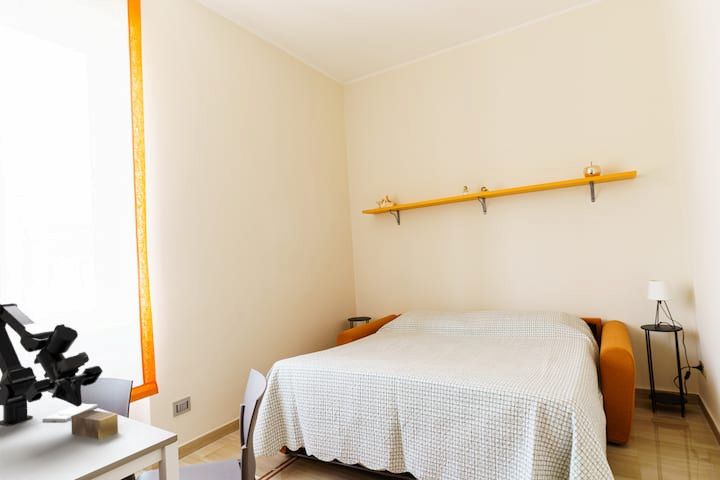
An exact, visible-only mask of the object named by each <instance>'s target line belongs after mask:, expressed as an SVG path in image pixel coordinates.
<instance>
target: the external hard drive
mask: <svg viewBox="0 0 720 480" xmlns="http://www.w3.org/2000/svg"><path fill="white" fill-rule="evenodd" d="M98 407H99V405H98V404H96V403H94V404H93V403H92V404H90V403H82V404H81V406H78V407H77V406H75V405H72V406H70V407H68V408H65V409H63V410H60V411H58V412H56V413H54V414H52V415H49V416H45V417H44V418H42V423H47V422H49V423H51V422H55V423H66V422H68V421H71V416H73V415H76V414H79V413H82V412H85V411H87V410H95V409H98Z"/></svg>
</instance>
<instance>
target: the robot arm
mask: <svg viewBox="0 0 720 480" xmlns="http://www.w3.org/2000/svg"><path fill="white" fill-rule="evenodd" d="M7 325H8V326H9V327H10V328H11V329H12V330H13V331H14V332H15V333H16V334H17V335H18V336H19V337H20V340H19V344H20V345H21V346H22V347H23V350H24V351H26V352H28V353H33V352H37V351H38V353H37V354H36V356H35V358H34V360H33V364H34V365H37V364H40V366H41V367H42V369H43V371H44V374H43V376H44V379H40V380H37V376H36V374H35V373H34V370H33V368H32V367H31V366H29V367H27V366H26V367H25V366H23V365H22V363H21V360H20V359H19V357H18V353H17V351H16V349H15V347H14V345H13V343H12V340H11V338H10V336H9V334H8V331H7V328H6V326H7ZM78 335H79V334H78V331H77V330H76V329H73V328H72V327H70V326H66V325H65V324H63V323H62V324H57V325H55V328H54V330H52V329H50V328H48V326H43V325H39V324H37V323H35V322H34V321H33V320H32V319H31V318H30V317H29V316H28V315H27V314H26V313H24V312H23V311H22V310H21V309H20V308H19V307H18V304H17V303H16V302H12V301H11V302H1V303H0V371H1V377H0V406H2V408H3V409H2V410H3V411H2V412H3V414H2V415H3V416H2V418H3V419H2V420H0V425H6V426H12V425H16V424H19V423H21V422H24V421H28V420H30V419H33V418H34V416H33V415H29V414H28V403H33V402H36V401H39V400H41V399H42V396H43V393H45V392H49V391H52V394H51V398H52V399H56V398H57V399H59V400H62V401H65V402H67V403H69V404H71V405H72V406H74V405H75V406H77V407H78V406H81V404H83V401H82V391H81V390H82V389H81V388H82V386H83V387H86V386H90V385H93V384H94V383H96V382H97V380H98V379H99V378H100V376H101V375H102V373H103V372H104V371H103V369H102V368H101V367H100V366H99V365H94V366H90V367H87V368H84V370H83V372H82V373H80V374H78V372H79V371H80V369H79V368H81V367H83V366H85V365H86V363H88V362H89V361H90V358H89V355H88V354H87V353H86V351H83V352H79V353H78V354H76V355H72V356H69V357H65V356H64V354H65V353H67V352H68V351H69V349H70V348H71V347H72V346H73V343H74V342H75V341H76V339H77V338H78ZM76 374H77V375H76Z"/></svg>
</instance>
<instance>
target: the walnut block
mask: <svg viewBox="0 0 720 480" xmlns="http://www.w3.org/2000/svg"><path fill="white" fill-rule="evenodd" d="M118 419H119V418H118V413H114V412H113V413H112V412H108V411H107V412H106V411H101V410H95V409H93V410H87V411H85V412H82V413H79V414H76V415H73V416H71V420H70V421H71V435H74V436H80V437H84V438H89V439H90V438H91V439H97V440H102V439H105V438H107V437H110V436H113V435H115V434H116V433H117V434H118V433H119V427H118V426H119V424H118V423H119V420H118Z"/></svg>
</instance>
